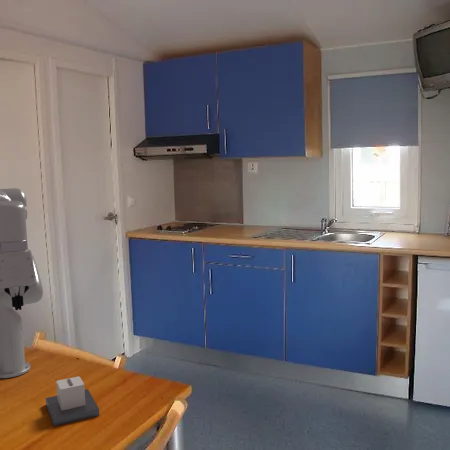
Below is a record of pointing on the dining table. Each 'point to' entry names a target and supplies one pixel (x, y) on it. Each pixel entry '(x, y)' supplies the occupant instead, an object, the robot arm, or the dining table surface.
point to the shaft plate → (71, 410)
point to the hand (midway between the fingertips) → (18, 308)
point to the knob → (70, 393)
